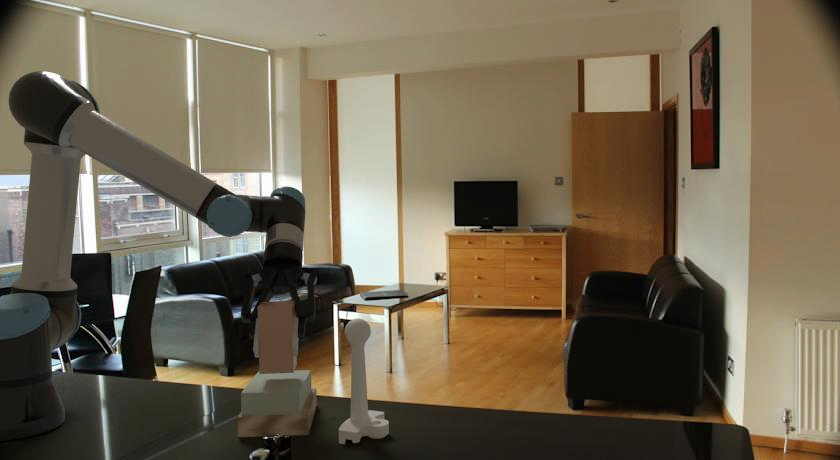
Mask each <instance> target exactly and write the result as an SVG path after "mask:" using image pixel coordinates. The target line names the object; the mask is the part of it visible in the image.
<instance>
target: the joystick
mask: <svg viewBox="0 0 840 460" xmlns="http://www.w3.org/2000/svg"><path fill="white" fill-rule="evenodd" d="M371 332H372V329H371V325H370V323H369V322H367V321H366V320H365V319H363V318H353V319H351V320H349V321H348V323H346V325H345V328H344V335H345V338H346V340H347V341H348V342H349V343H350V346H351V371H350V372H351V376H350V379H351V380H350V417H349V418H348V419H346V420H345V421H344V422H343V423H341V424H340V426H339V428H338V444H340V445H346V443H347V440H350V441H352V443H353V444H357V443H358V444H359V443H360V442H361V439H362V438H363V437H368V438H369V439H374V440H375V439H384V438H385V437H387V436H388V435H389V433H390V430H389V429H390V427H389V426H390V422H389V420H387V419H385V411H378V410H370V409H369V404H368V403H369V402H368V389H367V388H368V387H367V371H366V369H367V368H366V355H365V354H366V353H365V351H366V350H365V346H366V342H367V341H368V340H369V339H370V336H371V334H372V333H371Z"/></svg>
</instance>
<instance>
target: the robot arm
mask: <svg viewBox="0 0 840 460" xmlns="http://www.w3.org/2000/svg"><path fill="white" fill-rule="evenodd" d="M8 107H9V111H10V113H11V115H12V117H13V119H14V120H15V121H16V122H17V123H18V124H19V125H20V127H22V128H24V137H23V145H24V146H25V147H26V148H27V149H28V150H29V151H30V153H31V160H30V162H31V163H30V173H29V183H28V184H29V185H28V194H27V195H28V196H27V207H26V216H25V217H26V219H25V228H24V229H25V231H24V240H23V241H24V242H23V252H22V253H23V254H22V263H21V264H22V265H21V274H20V276H19V277H17V278H16V279H15V280H14V281H12V283H11V287H10V294H5V295H1V296H0V442H1V441H2V442H4V441H10V440H11V441H12V440H18V439H24V438H28V437H33V436H38V435H40V434H41V435H42V434H43V433H48V432H49V431H51V430H54V429H57V428H58V427H60V426H62V425H63V424H64V422H65V421H66V413H65V411H66V410H65V406H64V404H63V400H62V398H61V396H60V394H59V392H58V389H57V388H56V387H57V386H56V385H55V382H54V379H53V363H52V362H53V361H52V359H53V358H52V352H53V351H55V350H57V349H59V348H61V347H63V346H64V345H65V344H67V343H68V342H69V341H70V340H71V339H72V338H73V337H74V336H75V334H76V333H77V331H78V330H79V327H80V325H81V322H82V310H81V307H80V304H79V302H78V301H77V296H78V284H77V283H76V282H75V281H74V280H73V279H72V278H71V271H72V270H71V269H72V259H73V248H74V237H75V226H76V215H77V205H78V194H79V183H80V172H81V160H82V158H84V156H88V157H90V158H92V159H93V160H95V161H97V162H99V163H100V164H102V165H104V166H105V167H108V168H109V169H111V170H113V171H114V172H117V174H119V175H122V176H123V177H125V178H126V179H128V180H129V181H131V182H134V183H135V184H137V185H139V186H140V187H142V188H144V189H145V190H146V191H149V192H150V193H152V194H153V195H156V196H157V197H159V198H161V199H163V200H165V201H166V202H168V203H170V204H171V205H173V206H175V207H177V208H178V209H180V210H182V211H183V212H186V213H187V214H189V215H190V216H192V217H194V218H195V219H197V220H199V222H202V223H203V224H206V225H207V226H208V228H209V229H210V230H212V231H213V232H215V233H216V234H218V235H220V236H223V237H226V238H231V237H237V236H239V235H242V234H243V233H245V232H246V233H260V234H261V233H262V234H263V233H264V234H266V235H265V243H264V244H265V245H264V252H263V262H262V269H261V270H260V271H259V273H256V274H253V275H252V273H251V272H247V273H246V274H245V275H244V276H245V280H246V285H245V286H246V287H245V291H244V296H243V300H242V305H241V310H240V317H241V320H242V323H243V324H249V329H248V330H249V331H248V335H249V338H250V340H253V348H252V351H253V354H254V358H257V359H258V358H259V338H258V306H259V305H260V304H261V303H262V302H266V301H271V299H273V297H274V295H275V294H279V293H285V294H287V293H288V294H289V297H290V299H291V301H295V310H296V317H294V325H293V339H292V352H293V356H297V357H298V354H299V340H300V339H304V338H305V336H306V335H305V333H306V325H307V323H309V322H315V321H316V318H317V317H316V300H315V299H316V298H315V297H316V296H315V288H316V286H317V283H318V278H317V277H318V276H317V272H316V271H311V272H310V273H309V272H308V273H307V272H305V271H304V270H303V261H304V259H303V258H304V253H303V252H304V243H305V242H304V240H305V239H304V238H305V223H306V221H305V220H306V199H305V196H304V194H303V193H302V192H301V190H299V189H297V188H296V187H292V186H287V185H285V186H282V187H277V188H275V189H274V190H273V191H272V192H271V193H270V196H267V195H265V196H259V195H248V194H237V193H234V192H232V191H230V190H229V189H227V188H226V187H223V186H222V185H220V184H218V183H217V182H215V181H214V180H212V179H210V178H208V177H206V176H205V175H203V174H202V173H200V172H199V171H196V170H195V169H193V168H192V167H190V166H188V165H187V164H186V163H185V164H184V163H183V162H182V161H180V160H178V159H176V158H175V157H173V156H171V155H170V154H169V153H166V152H165V151H163V150H161V149H160V148H158V147H156V146H155V145H153V144H151V143H149V142H148V141H147V140H144V139H143V138H141V137H139V136H138V135H137V134H134V133H133V132H131V131H130V130H128V129H127V128H125V127H123V126H122V125H120V124H118V123H116V122H114V121H113V120H111V119H110V118H108V117H106V116H105V115H103V114H101V113H100V106H99V105H98V102H97V100H96V98H95V97H94V96H93V94H92V93H91V92H90V91H89V90H88V89H87V88H86V87H85V86H83V85H82V84H80V83H79V82H76V81H74V80H70V79H68V78H65V77H63V76H61V75H59V74H57V73H55V72H52V71H44V70H42V71H41V70H39V71H31V72H29V73H25V74H24V75H23V76H22V75H21V76H20V77H19V78H18V79H17V80H16V81H15V82H14V84H13V85H12V87H11V88H10V91H9V94H8ZM260 281H261V282H262V283H263V289H262V291H261V294H260V295H259V298H258V300H257V301H256V304H255V306H254V308H253V310H252V307H253V303H254V299H255V294H256V293H255V292H256V288H257V286H258V285H259V282H260ZM302 281H304V283H305V285H306V290H307V291H306V292H307V311H304V308H303V305H302V302H301V300H300V297H299V296H300V295H299V293H298V290H297V287H298V285H300V283H302Z"/></svg>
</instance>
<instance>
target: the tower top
mask: <svg viewBox="0 0 840 460" xmlns="http://www.w3.org/2000/svg"><path fill="white" fill-rule="evenodd" d="M312 389H313V388H312V370H311V369H310V370H307V369H306V370H305V369H304V370H303V369H302V370H299V369H298V370H295V371H294V373H275V374H260V371H259V370H258V372H257V373H256V374H255V375H254V377H252V379H251V380H250V381H249V382H248V384H247V385H246V386H245V387H244V388H243V389H242V391H241V392H240V401H241V402H240V406H241V411H242V416H247V415H300V413H301V411H302V409H303V407H304V405H305V403H306V401H307V399H308V397H309V395H310V393H311V391H312Z"/></svg>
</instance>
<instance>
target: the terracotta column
mask: <svg viewBox="0 0 840 460" xmlns="http://www.w3.org/2000/svg"><path fill="white" fill-rule="evenodd" d="M294 317H297V314H296V310H295V301H292V300H273V301H271V300H270V301H266V302H262V303H261V304H260V305H259V306H258V338H259V357H258V362H259V363H258V364H259V365H258V366H259V367H258V368H259V370H258V372H259V371H260V374H275V373H294V371H296V368H297V365H298V356H293V352H292V339H293V325H294Z"/></svg>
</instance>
